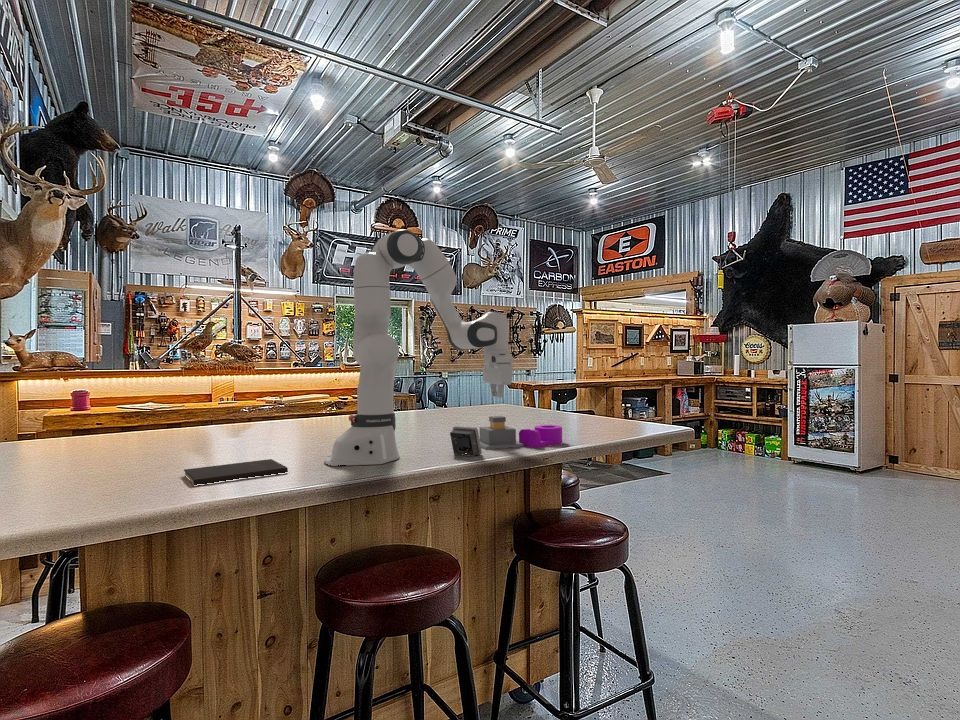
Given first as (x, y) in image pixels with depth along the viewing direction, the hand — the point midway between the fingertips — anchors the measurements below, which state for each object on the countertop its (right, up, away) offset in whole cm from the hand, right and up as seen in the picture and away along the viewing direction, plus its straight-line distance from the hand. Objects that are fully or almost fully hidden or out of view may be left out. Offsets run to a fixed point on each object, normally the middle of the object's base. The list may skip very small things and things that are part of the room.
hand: (497, 396), depth 188 cm
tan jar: (0, -16, 0) cm, 16 cm away
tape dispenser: (+16, -18, +1) cm, 24 cm away
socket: (0, -17, 0) cm, 17 cm away
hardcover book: (-73, -19, -43) cm, 87 cm away
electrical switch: (-11, -18, -18) cm, 27 cm away
